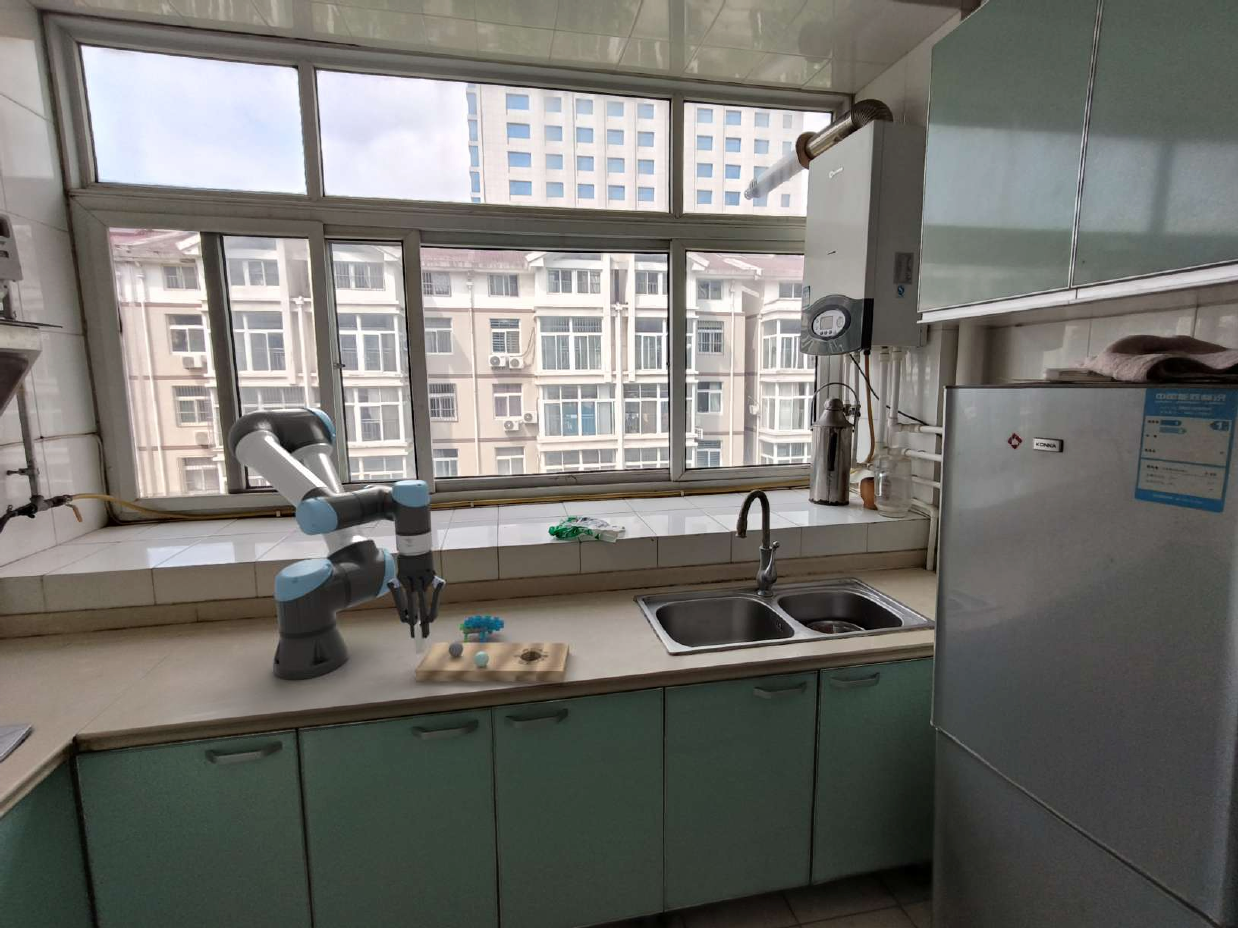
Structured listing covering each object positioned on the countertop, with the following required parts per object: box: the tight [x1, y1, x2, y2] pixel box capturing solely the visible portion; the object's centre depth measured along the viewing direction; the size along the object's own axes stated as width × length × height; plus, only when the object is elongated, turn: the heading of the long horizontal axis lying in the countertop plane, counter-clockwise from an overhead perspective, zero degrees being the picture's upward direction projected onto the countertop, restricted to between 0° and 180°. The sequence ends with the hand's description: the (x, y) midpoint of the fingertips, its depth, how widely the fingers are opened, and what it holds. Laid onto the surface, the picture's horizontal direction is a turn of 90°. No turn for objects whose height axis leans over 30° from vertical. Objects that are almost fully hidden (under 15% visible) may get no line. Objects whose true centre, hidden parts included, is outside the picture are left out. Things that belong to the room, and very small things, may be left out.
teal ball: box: [474, 651, 489, 667], centre depth 126 cm, size 3×3×3 cm
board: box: [414, 642, 570, 683], centre depth 131 cm, size 32×13×2 cm, turn 89°
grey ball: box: [449, 641, 463, 657], centre depth 130 cm, size 3×3×3 cm
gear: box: [459, 614, 505, 643], centre depth 143 cm, size 11×6×10 cm
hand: (421, 650), depth 131 cm, fingers closed
